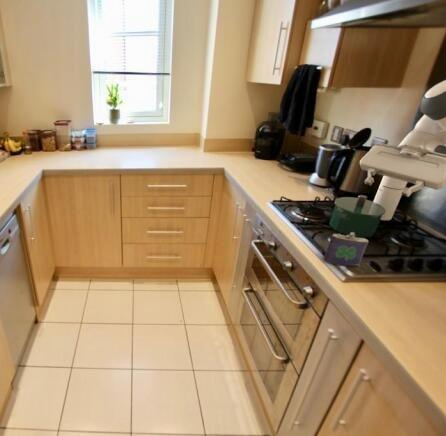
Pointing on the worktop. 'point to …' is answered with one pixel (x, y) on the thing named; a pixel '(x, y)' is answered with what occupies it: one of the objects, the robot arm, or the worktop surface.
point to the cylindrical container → (389, 195)
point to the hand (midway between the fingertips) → (385, 189)
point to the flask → (345, 250)
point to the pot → (353, 223)
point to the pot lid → (360, 206)
